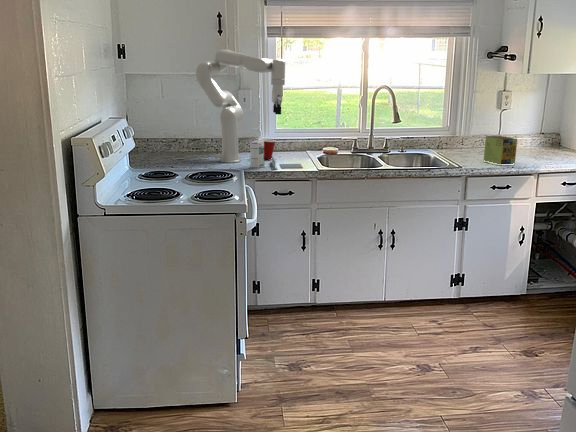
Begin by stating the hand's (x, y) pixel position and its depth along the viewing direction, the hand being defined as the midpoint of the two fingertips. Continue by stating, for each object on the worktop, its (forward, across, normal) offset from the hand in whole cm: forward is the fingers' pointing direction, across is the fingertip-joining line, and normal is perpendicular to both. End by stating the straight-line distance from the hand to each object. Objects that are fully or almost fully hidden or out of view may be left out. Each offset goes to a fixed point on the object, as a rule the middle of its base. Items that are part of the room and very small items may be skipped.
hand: (277, 113), depth 337 cm
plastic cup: (+29, -17, -3) cm, 34 cm away
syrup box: (+29, +7, -11) cm, 32 cm away
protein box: (+26, +11, +131) cm, 134 cm away
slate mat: (+29, +8, +8) cm, 31 cm away
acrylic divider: (+29, +8, -2) cm, 30 cm away
